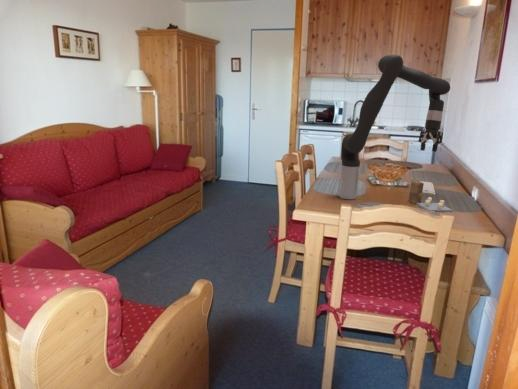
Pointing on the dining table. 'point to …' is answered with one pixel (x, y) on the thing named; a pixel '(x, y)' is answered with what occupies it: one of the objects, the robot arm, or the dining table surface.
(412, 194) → the brown rectangular block
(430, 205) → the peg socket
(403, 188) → the dining table surface
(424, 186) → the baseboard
